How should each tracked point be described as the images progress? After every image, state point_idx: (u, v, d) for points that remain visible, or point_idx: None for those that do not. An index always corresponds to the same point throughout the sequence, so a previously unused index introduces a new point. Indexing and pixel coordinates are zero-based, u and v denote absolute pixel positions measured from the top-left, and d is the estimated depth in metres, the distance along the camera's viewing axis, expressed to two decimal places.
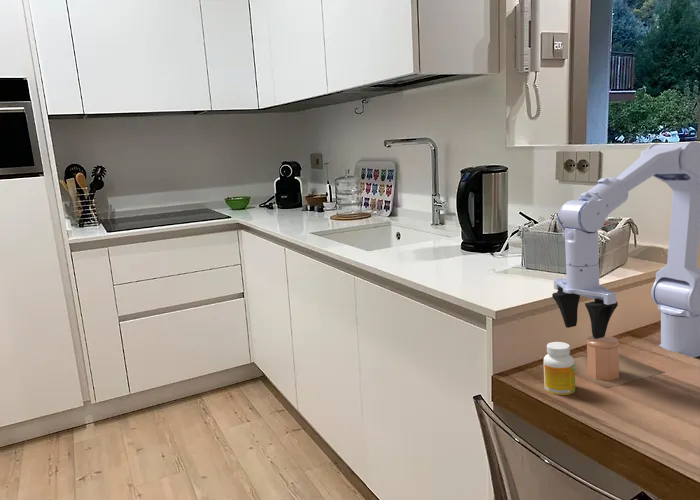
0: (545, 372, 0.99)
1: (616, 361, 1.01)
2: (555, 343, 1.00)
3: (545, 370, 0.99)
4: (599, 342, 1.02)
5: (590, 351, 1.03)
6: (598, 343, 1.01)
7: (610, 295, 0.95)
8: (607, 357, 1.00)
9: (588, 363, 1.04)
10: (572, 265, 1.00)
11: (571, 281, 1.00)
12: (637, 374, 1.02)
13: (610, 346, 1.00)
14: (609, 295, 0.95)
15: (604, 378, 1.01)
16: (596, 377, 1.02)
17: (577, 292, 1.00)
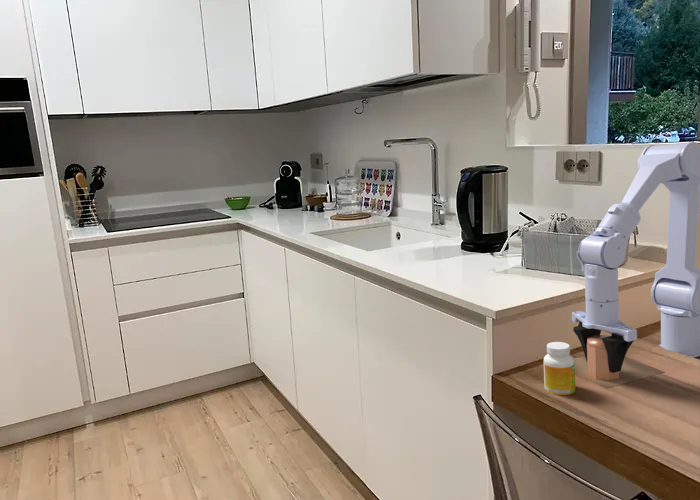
0: (545, 372, 0.99)
1: None
2: (556, 343, 1.00)
3: (545, 370, 0.99)
4: (599, 342, 1.02)
5: (590, 351, 1.03)
6: (598, 343, 1.01)
7: (631, 332, 0.95)
8: (607, 357, 1.00)
9: (588, 363, 1.04)
10: (592, 300, 1.00)
11: (591, 316, 1.01)
12: (637, 374, 1.02)
13: None
14: (630, 332, 0.95)
15: (604, 378, 1.01)
16: (596, 377, 1.02)
17: (597, 327, 1.00)
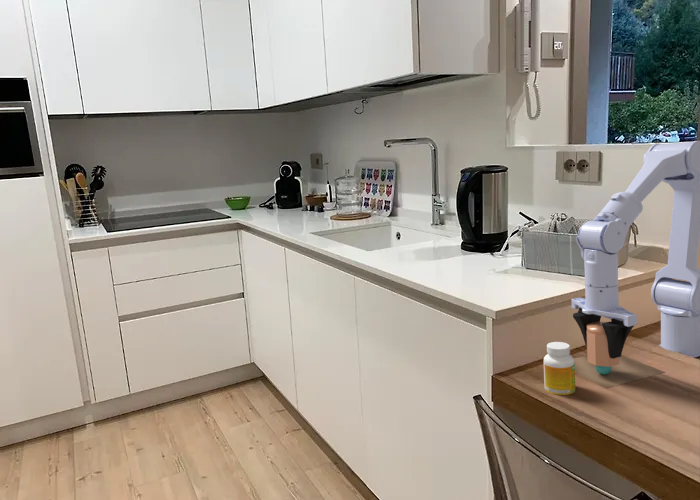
0: (545, 372, 0.99)
1: None
2: (556, 343, 1.00)
3: (545, 370, 0.99)
4: (599, 328, 1.01)
5: (590, 337, 1.02)
6: (598, 329, 1.01)
7: (631, 317, 0.95)
8: (607, 343, 1.00)
9: (588, 350, 1.03)
10: (592, 286, 1.00)
11: (591, 302, 1.00)
12: (637, 374, 1.02)
13: None
14: (630, 317, 0.95)
15: (604, 364, 1.01)
16: (596, 363, 1.02)
17: (597, 313, 1.00)
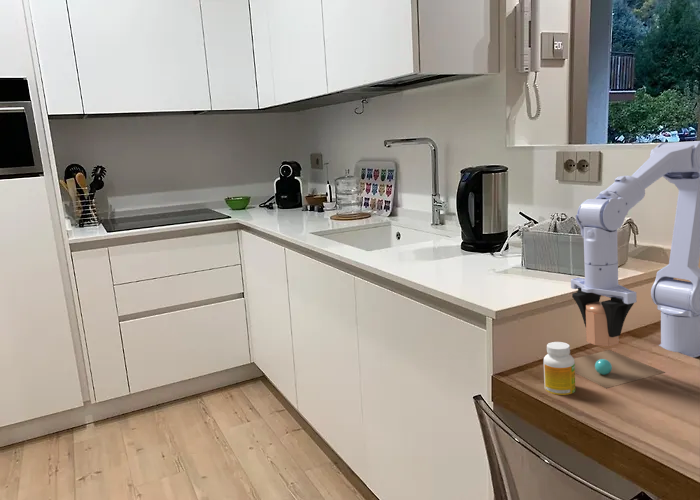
0: (545, 372, 0.99)
1: None
2: (556, 343, 1.00)
3: (545, 370, 0.99)
4: (598, 307, 1.01)
5: (589, 317, 1.01)
6: (597, 308, 1.00)
7: (630, 294, 0.94)
8: (606, 322, 0.99)
9: (587, 329, 1.02)
10: (591, 264, 0.99)
11: (590, 280, 1.00)
12: (637, 374, 1.02)
13: None
14: (629, 294, 0.94)
15: (603, 344, 1.00)
16: (595, 343, 1.01)
17: (596, 291, 0.99)
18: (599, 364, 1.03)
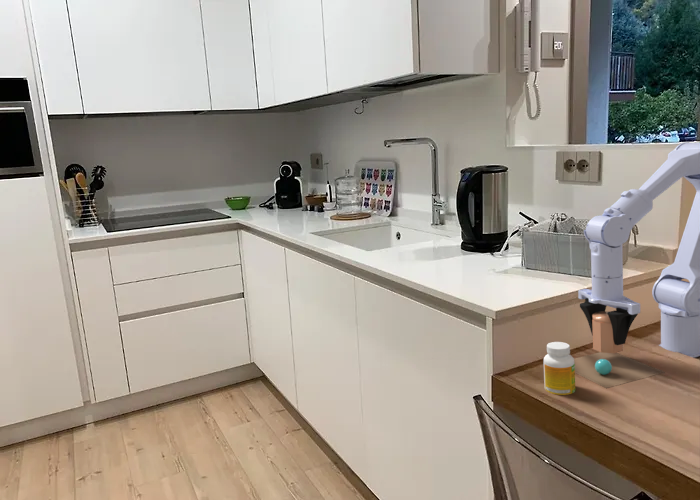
0: (545, 372, 0.99)
1: None
2: (555, 343, 1.00)
3: (545, 370, 0.99)
4: (604, 317, 1.08)
5: (595, 326, 1.09)
6: (603, 318, 1.07)
7: (635, 306, 1.01)
8: (611, 331, 1.06)
9: (593, 337, 1.10)
10: (598, 277, 1.06)
11: (597, 292, 1.07)
12: (637, 374, 1.02)
13: None
14: (634, 306, 1.01)
15: (609, 351, 1.07)
16: (601, 350, 1.08)
17: (602, 302, 1.06)
18: (599, 364, 1.03)
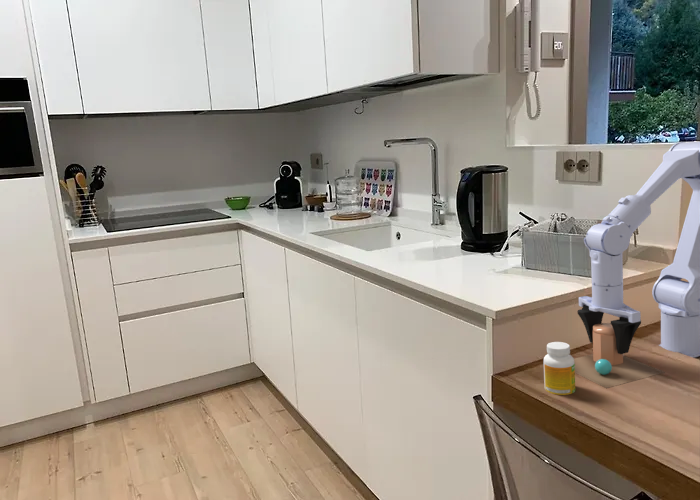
0: (545, 372, 0.99)
1: None
2: (555, 343, 1.00)
3: (545, 370, 0.99)
4: (604, 329, 1.08)
5: (596, 338, 1.09)
6: (603, 330, 1.08)
7: (635, 314, 1.02)
8: (611, 343, 1.07)
9: (594, 349, 1.10)
10: (598, 285, 1.06)
11: (597, 300, 1.07)
12: (637, 374, 1.02)
13: (614, 333, 1.07)
14: (634, 314, 1.02)
15: None
16: None
17: (603, 310, 1.06)
18: (599, 364, 1.03)
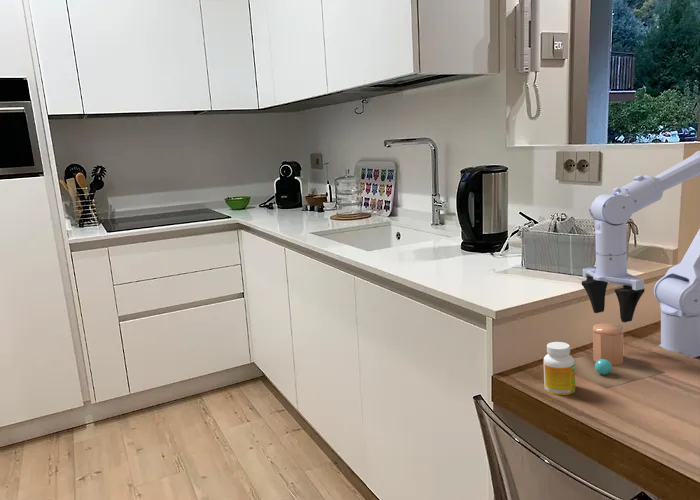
0: (545, 372, 0.99)
1: (620, 347, 1.07)
2: (556, 343, 1.00)
3: (545, 370, 0.99)
4: (604, 329, 1.08)
5: (596, 338, 1.09)
6: (603, 330, 1.08)
7: (638, 281, 1.03)
8: (611, 343, 1.07)
9: (594, 349, 1.10)
10: (602, 254, 1.08)
11: (601, 269, 1.09)
12: (637, 374, 1.02)
13: (614, 333, 1.07)
14: (637, 281, 1.03)
15: None
16: None
17: (607, 279, 1.08)
18: (599, 364, 1.03)
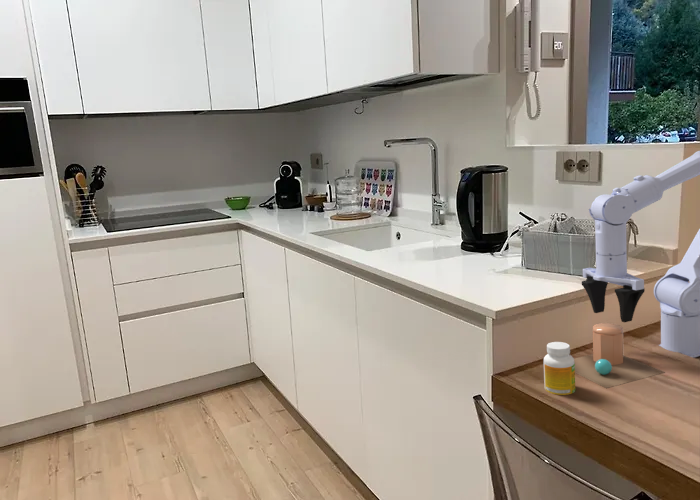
0: (545, 372, 0.99)
1: (620, 347, 1.07)
2: (556, 343, 1.00)
3: (545, 370, 0.99)
4: (604, 329, 1.08)
5: (596, 338, 1.09)
6: (603, 330, 1.08)
7: (638, 281, 1.03)
8: (611, 343, 1.07)
9: (594, 349, 1.10)
10: (602, 254, 1.08)
11: (601, 269, 1.09)
12: (637, 374, 1.02)
13: (614, 333, 1.07)
14: (637, 281, 1.03)
15: None
16: None
17: (607, 279, 1.08)
18: (599, 364, 1.03)
